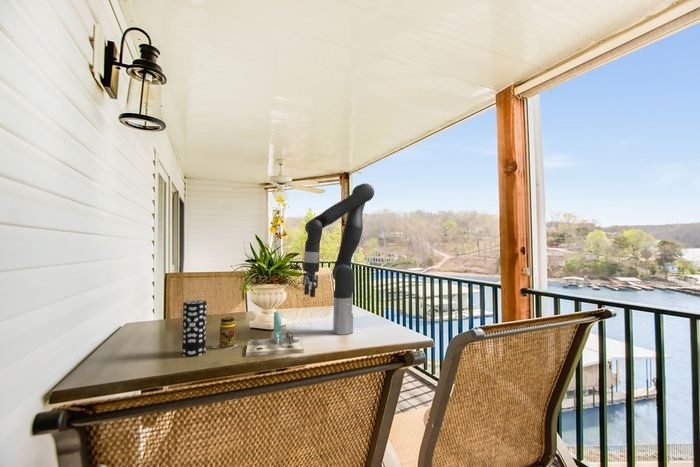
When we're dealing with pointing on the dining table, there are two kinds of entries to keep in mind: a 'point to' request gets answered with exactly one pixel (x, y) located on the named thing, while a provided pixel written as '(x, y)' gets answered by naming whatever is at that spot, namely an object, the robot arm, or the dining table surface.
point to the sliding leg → (277, 326)
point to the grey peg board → (275, 346)
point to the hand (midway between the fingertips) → (309, 295)
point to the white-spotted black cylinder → (194, 328)
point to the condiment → (227, 334)
